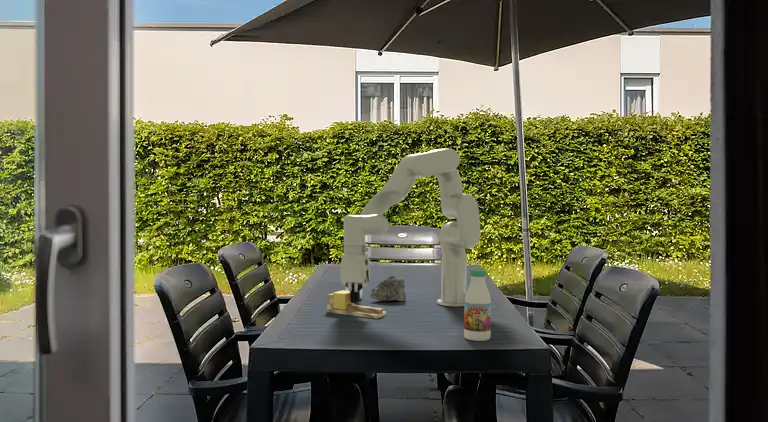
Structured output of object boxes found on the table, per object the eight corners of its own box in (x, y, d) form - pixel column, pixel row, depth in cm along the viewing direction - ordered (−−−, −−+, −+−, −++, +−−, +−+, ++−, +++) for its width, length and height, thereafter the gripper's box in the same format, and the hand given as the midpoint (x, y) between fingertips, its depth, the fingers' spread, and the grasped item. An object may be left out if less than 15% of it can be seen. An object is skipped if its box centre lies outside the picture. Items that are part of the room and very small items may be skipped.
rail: (386, 315, 194) (386, 297, 194) (376, 318, 188) (376, 300, 187) (338, 308, 204) (338, 291, 203) (327, 312, 198) (327, 294, 197)
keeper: (353, 306, 200) (354, 291, 200) (344, 309, 194) (344, 294, 194) (342, 305, 202) (342, 290, 202) (332, 308, 197) (332, 292, 197)
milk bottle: (461, 335, 167) (462, 268, 166) (486, 334, 167) (487, 268, 167) (467, 341, 159) (468, 271, 159) (493, 341, 160) (494, 271, 159)
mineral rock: (369, 302, 217) (369, 276, 217) (376, 297, 227) (376, 273, 227) (402, 304, 214) (402, 278, 214) (407, 299, 224) (407, 274, 224)
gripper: (378, 250, 195) (378, 302, 196) (342, 248, 202) (342, 298, 203) (367, 252, 188) (368, 306, 189) (330, 250, 196) (331, 302, 196)
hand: (354, 302), depth 196 cm, fingers closed
